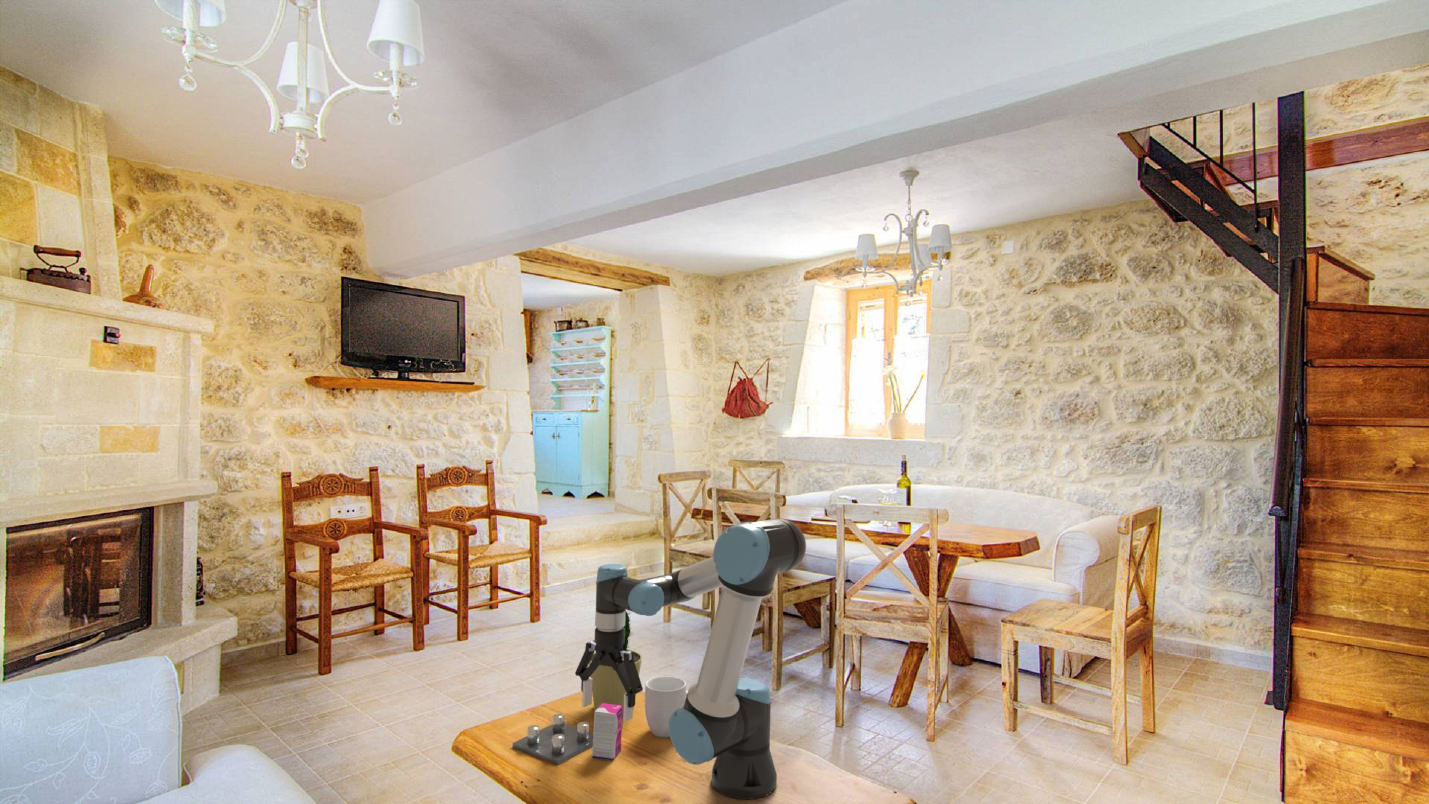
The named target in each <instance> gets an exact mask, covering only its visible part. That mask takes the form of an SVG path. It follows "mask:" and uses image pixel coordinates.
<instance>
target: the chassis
mask: <svg viewBox="0 0 1429 804" xmlns="http://www.w3.org/2000/svg"><path fill="white" fill-rule="evenodd" d="M565 717H566V716H565V714H564V713H555V714H553V716H552V724H550V725H548V726H546V727H544V728H541V727H540V725H537V724H533V725H532V724H531V725H530V726H528V727H527V731H526V732H527V735H526V736H525V737H522V738H520V739H519V740H517V741H513V742H512V748H514V749H516V750H518V751H521V752H524V753H525V754H526V753H527V754H529V755H531V756H534V757H536V758H539V759H541V760H544V761H547V762H549V763H552V764H554V765H557V766H558V765H560V764H562V763H564V762H566V761H568V760H569V759H572V758H573V757H575V756H577V755H579V754H581V753H583V752H584V751H586V750H588V749H590V748H591V747H592V748H593V732H590V723H589V722H587V721H581V722H578V723H577V724H576V725H577V726H574V725H571V724H568V723H565V719H566V718H565Z"/></svg>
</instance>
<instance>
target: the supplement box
mask: <svg viewBox="0 0 1429 804" xmlns="http://www.w3.org/2000/svg"><path fill="white" fill-rule="evenodd" d="M622 713H623V706H621V705H613V704H605V703H602V704H601V705H600V706H599V707H598V708H597V710H596V711H595V710H594V716H593V732H592V733H593V746H592V751H591V752H592V754H591V758H592V759H597V760H602V761H603V760H606V761H611V762H612V761H614V760H615V758H616V757H617V756H618V755H619V753H620V752H621V750H622V734H623V733H622V731H623V716H622Z"/></svg>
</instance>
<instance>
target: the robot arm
mask: <svg viewBox="0 0 1429 804" xmlns="http://www.w3.org/2000/svg"><path fill="white" fill-rule="evenodd" d="M806 549H807V542H806V537H805V535H804V533H803V531H802V529H801V528H800V527H799V526H798V525H797V524H796V523H794V522H793V521H790V520H787V519H785V518H771V519H765V520H760V521H753V522H752V521H746V522H744V521H743V522H740V523H738V524H735V525H732V526H730V527H727V528H726V529H725V530H723V532H721V534H720V535H719V536H718V538H717V539H716V541H715V543H714V547H713V554H712V556H710V557H708V558H705V559H703V560H701V561H698V562H696V563H693V564H691V565H688V566H686V567H683V568H681V569H679V570H676V571H673V572H671V573H666V574H664V575H658V576H653V577H649V578H643V579H636V578H632V577H630V576H628V568H627V567H626V566H625V565H624V564H620V563H607V564H603V565H600V566H599V567H598V569H597V573H596V581H595V585H596V587H595V588H596V590H595V591H596V592H595V617H594V626H595V628H594V639H593V640H590V641H588V642H586V643H585V647H584V652H583V654H582V657H581V659H580V661H579V663H578V666H577V668H576V669H575V670H576V671H575V672H574V674H575V676H579V677H580V680H581V684H580V691H581V692H582V701H581V702H582V704H581V707H582V708H585V707H589V706H591V705H592V703H593V693H592V682H593V679H592V678H591V675H592V674H593V672H594V671H595V670H596V669H597V667H598V666H599V665H600V664H603V665H607V666H609V667H612V668H613V670H615V671H616V673H617V674H618V676H619V678H620V680H621V682H622V684H623V686H624V688H625V690H626V692H627V693H626V694H624V711H623V716H622V722H628V721H629V720H631V719H634V718H633V717H634V715H633V714H634V708H635V705H636V697H637V694H639V693H641V692H642V691H643V685H642V681H641V678H640V674H639V675H638V672H637V669H636V665H635V662H634V654H633V651H634V650H631V651H628V652H627V651H624V650H623V644H624V641H625V628H624V626H625V612H627V610H628V612H632V613H633V614H634V613H635V614H636V615H639V616H646V617H652V616H655V615H656V614H657V613H659V612H660V611H661V609H662V608H663V607H664V608H665V607H666V606H670V605H671V606H672V605H674V604H679V603H685V602H689V601H690V600H693V599H695V597H698V596H700V595H704V594H706V593H710V592H712V591H714V590H717V589H719V588H720V589H721V593H720V596H719V600H718V604H717V607H716V611H715V614H714V618H713V622H712V626H711V629H710V633H709V637H708V642H707V644H706V645H707V646H706V647H705V648H706V649H705V652H704V657H703V659H702V660H703V661H702V663H701V664H702V665H701V668H700V671H699V674H698V679H697V682H695V683H694V684H692V685H691V686H689V688H688V690H687V691H688V693H687V696H686V700H685V704H684V706H683V708H679V709H677V710H676V711H675V712H674V713H673V714H672V715H671V717H670V720H669V735H670V737H669V738H670V740H671V743H672V746H673V748H674V750H675V751H676V753H677V754H678V755H679V757H680V758H681V759H682V760H683V761H685V762H687V763H688V764H690V765H694V766H695V765H702V764H704V763H706V762H707V763H708V762H711V761H712V760H713V759H715V761H714V762H713V766H712V768H711V769H712V770H711V785H712V787H713V789H715V790H716V791H717V792H718V793H720V794H722V795H723V796H726V797H729V798H734V799H738V798H739V799H738V800H751V799H750V798H756V799H760V798H759V797H761V798H763V797H762V796H764V797H766V796H768V795H770V794H771V793H770V792H772V791H773V790H774V789H775V790H776V787H777V781H778V779H777V778H778V776H777V775H778V774H777V769H776V767H775V763H774V761H773V757H772V753H771V746H770V745H771V743H770V742H771V741H770V740H771V705H772V700H771V690H770V688H769V686H768V685H767V684H766V683H764V682H762V681H760V680H757V679H753V678H750V677H749V678H748V677H741V676H742V672H743V668H744V665H745V662H746V657H747V654H748V651H749V647H750V643H751V638H752V637H753V632H754V628H755V626H756V625H755V624H756V623H757V622H756V621H757V617H758V614H759V610H760V606H761V604H762V600H763V599H765V598H767V597H769V596H770V595H771V594H772V590H773V587H774V584H775V581H776V576H777V575H780V574H783V573H787V572H790V571H792V570H794V569H796V568H797V567H798V566H799V565H800V563H801V562H802V561H803V560H804V557H805V554H806ZM595 652H596V653H597V655H596V657H595V658H594V659H593V660H592V663H591V664H590V665H589V662H590V660H591V658H592V656H593V654H594V653H595ZM622 657H623V658H622ZM618 662H619V663H620V664H618ZM617 664H618V665H617ZM630 687H631V689H630ZM635 696H636V697H635ZM633 707H634V708H633ZM775 790H774V791H775ZM774 791H773V792H774ZM773 792H772V793H773ZM769 793H770V794H769ZM767 794H768V795H767ZM765 795H766V796H765Z"/></svg>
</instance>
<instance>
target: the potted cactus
mask: <svg viewBox="0 0 1429 804" xmlns="http://www.w3.org/2000/svg"><path fill="white" fill-rule="evenodd" d="M632 613H633V612H632V611H630V612H629V610H626V612H625V626H624V628H625V641H624V644H623V650H624V651H627V652H628V651H631V650H630V646H629V641H630V637H632V635H634V633H633V632H632V631H631V630H633V628H632V627H631V623H630V622H631V621H633V620H632V619H631V618H630V616H629V615H630V614H632ZM632 651H633V654H634V662H635V665H636V669H637V672H638V675H639V676H640V670H641V666H642V658H643V657H642V654H641V653H639V652H638V651H635V650H632ZM596 655H597V653H596V651H594V654H593V656H592V658H591V660H590V662H589V665H590V664H591V663H592V660H593V659H594V658H595V657H596ZM622 658H623V657H622ZM618 664H620V663H619V662H618ZM618 664H617V665H618ZM589 665H588V666H589ZM590 678H592V679H593V682H592V703H593V708H594V709H593V710H594V712H595V711H596V710H597V708H598V707H599V706H600V705H601V704H602V703H605V704H613V705H621V706H623V711H624V694H626V693H627V692H626V690H625V688H624V686H623V684H622V682H621V680H620V678H619V676H618V674H617V673H616V671H615V670H613V668H612V667H609V666H607V665H603V664H600V665H599V666H598V667H597V669H596V670H595V671H594V672H593V674H592V675H591V677H590ZM630 689H631V687H630ZM636 697H637V695H636V696H635V698H636ZM633 709H635V706H634V707H633ZM622 717H623V713H622Z"/></svg>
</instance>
